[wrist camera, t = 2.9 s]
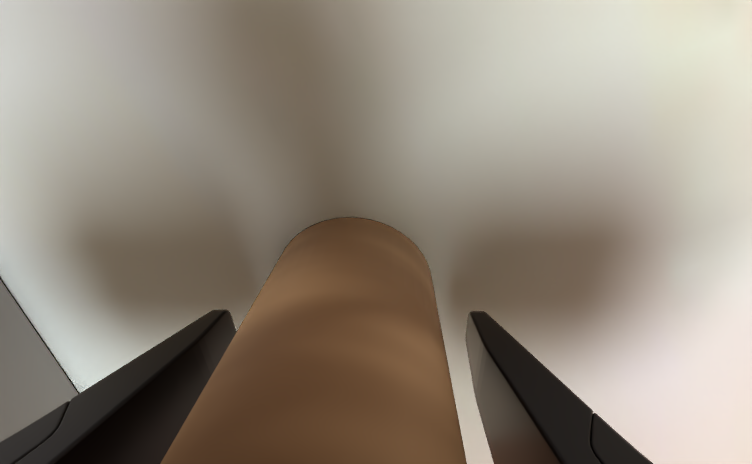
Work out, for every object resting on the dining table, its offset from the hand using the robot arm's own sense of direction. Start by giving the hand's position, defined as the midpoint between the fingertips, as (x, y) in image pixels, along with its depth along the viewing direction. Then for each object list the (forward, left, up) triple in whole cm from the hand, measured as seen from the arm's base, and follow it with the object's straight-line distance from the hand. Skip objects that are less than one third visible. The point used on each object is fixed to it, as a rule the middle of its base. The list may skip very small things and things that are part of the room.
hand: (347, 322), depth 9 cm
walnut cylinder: (0, 0, -2) cm, 2 cm away
